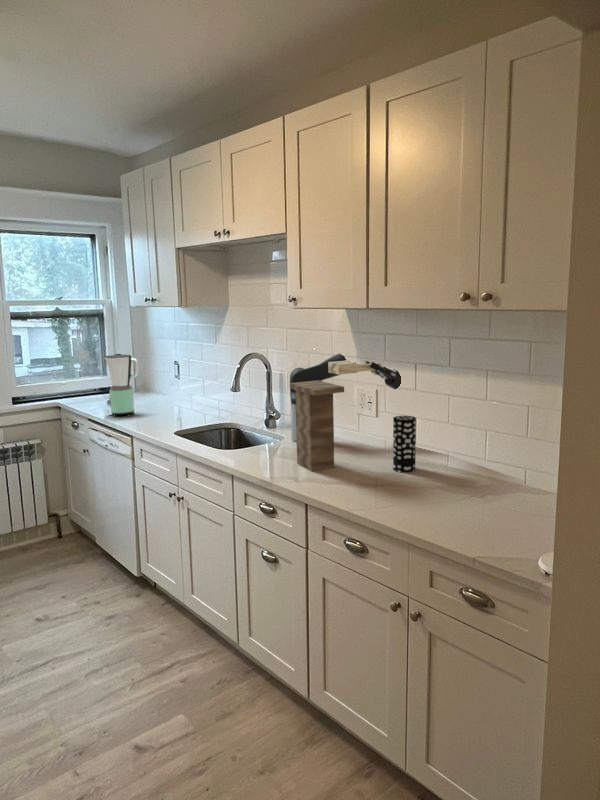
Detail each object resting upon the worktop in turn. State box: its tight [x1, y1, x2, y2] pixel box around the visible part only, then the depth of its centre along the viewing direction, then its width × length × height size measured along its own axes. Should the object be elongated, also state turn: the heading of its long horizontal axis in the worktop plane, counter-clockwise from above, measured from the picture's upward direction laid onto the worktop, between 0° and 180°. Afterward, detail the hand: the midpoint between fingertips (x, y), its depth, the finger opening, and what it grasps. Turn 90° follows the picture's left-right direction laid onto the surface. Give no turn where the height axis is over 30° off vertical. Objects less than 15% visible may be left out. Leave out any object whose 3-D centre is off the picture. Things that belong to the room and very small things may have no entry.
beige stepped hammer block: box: [328, 361, 382, 376], centre depth 237 cm, size 8×21×4 cm, turn 117°
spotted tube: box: [392, 415, 417, 473], centre depth 226 cm, size 8×8×20 cm
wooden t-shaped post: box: [289, 380, 345, 472], centre depth 233 cm, size 20×13×32 cm, turn 27°
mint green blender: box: [103, 353, 139, 416], centre depth 343 cm, size 19×13×35 cm
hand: (368, 363), depth 239 cm, fingers closed on beige stepped hammer block, 3 cm apart
